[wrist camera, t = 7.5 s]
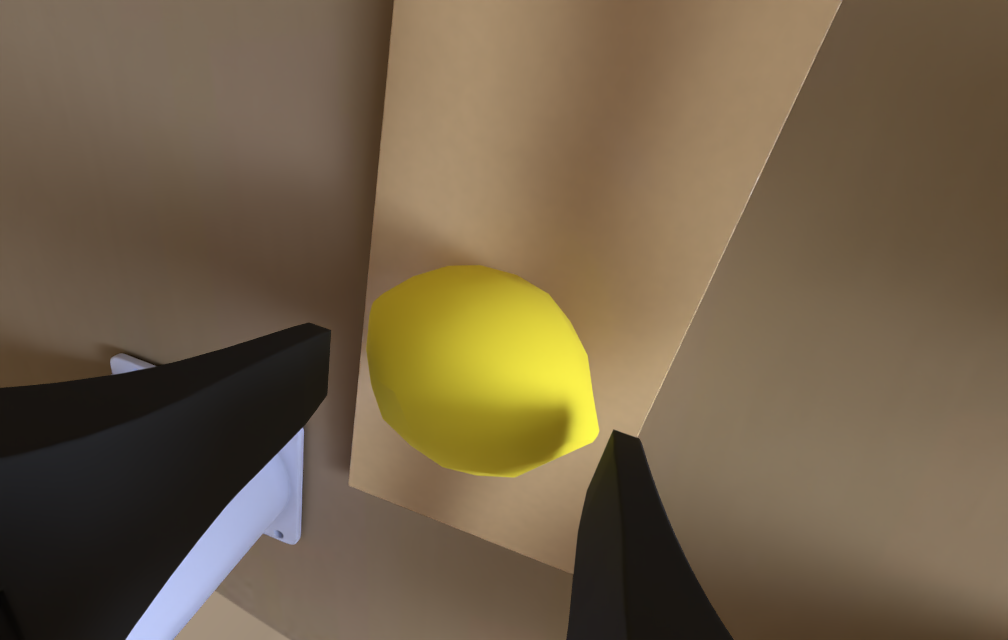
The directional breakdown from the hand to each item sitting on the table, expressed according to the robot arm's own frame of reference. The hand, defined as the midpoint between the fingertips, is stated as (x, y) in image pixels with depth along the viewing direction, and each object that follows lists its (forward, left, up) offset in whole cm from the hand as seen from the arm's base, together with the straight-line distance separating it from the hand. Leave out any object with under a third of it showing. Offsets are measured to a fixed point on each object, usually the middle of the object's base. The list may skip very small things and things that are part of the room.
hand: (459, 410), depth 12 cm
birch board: (0, 0, -5) cm, 5 cm away
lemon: (0, 0, -5) cm, 5 cm away
